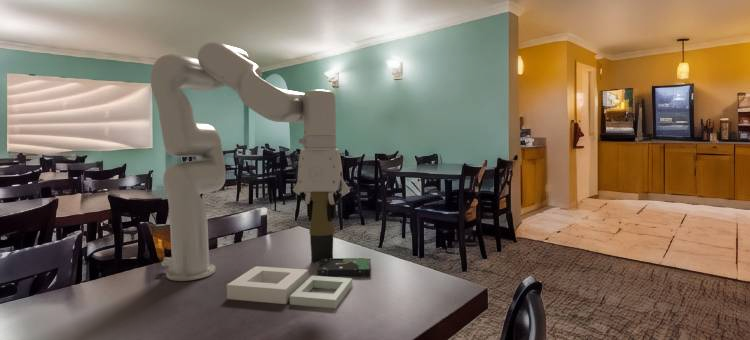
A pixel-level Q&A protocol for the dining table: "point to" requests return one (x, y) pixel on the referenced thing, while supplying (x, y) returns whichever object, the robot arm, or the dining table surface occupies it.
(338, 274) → the disk drive
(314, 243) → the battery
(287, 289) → the beige square frame
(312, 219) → the cork
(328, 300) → the green square frame
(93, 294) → the dining table surface
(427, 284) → the dining table surface
